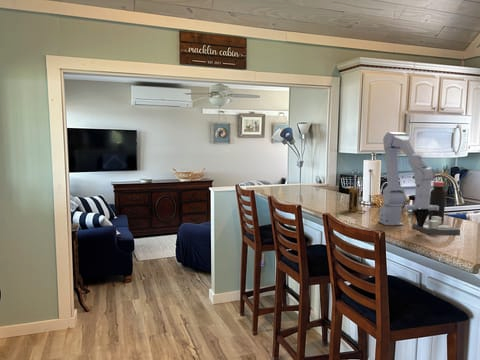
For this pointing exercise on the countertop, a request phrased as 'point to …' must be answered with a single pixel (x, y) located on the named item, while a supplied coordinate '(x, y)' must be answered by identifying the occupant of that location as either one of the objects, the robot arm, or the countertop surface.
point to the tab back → (436, 218)
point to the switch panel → (442, 229)
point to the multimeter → (354, 198)
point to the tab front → (433, 224)
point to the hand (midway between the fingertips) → (420, 226)
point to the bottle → (438, 200)
